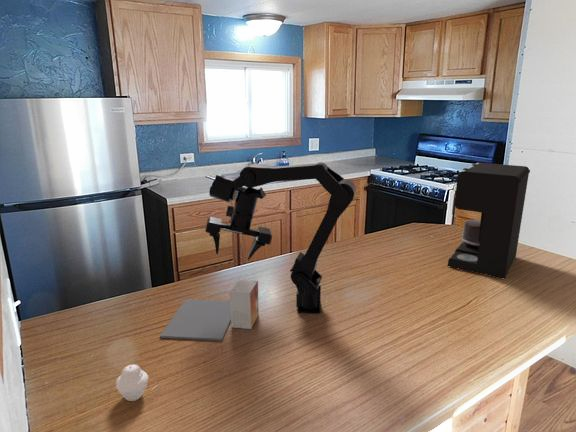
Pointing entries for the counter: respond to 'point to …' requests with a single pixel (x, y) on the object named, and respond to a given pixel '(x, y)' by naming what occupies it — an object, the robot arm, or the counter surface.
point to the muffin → (132, 382)
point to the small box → (244, 304)
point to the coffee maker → (490, 217)
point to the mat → (199, 320)
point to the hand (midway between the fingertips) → (232, 256)
